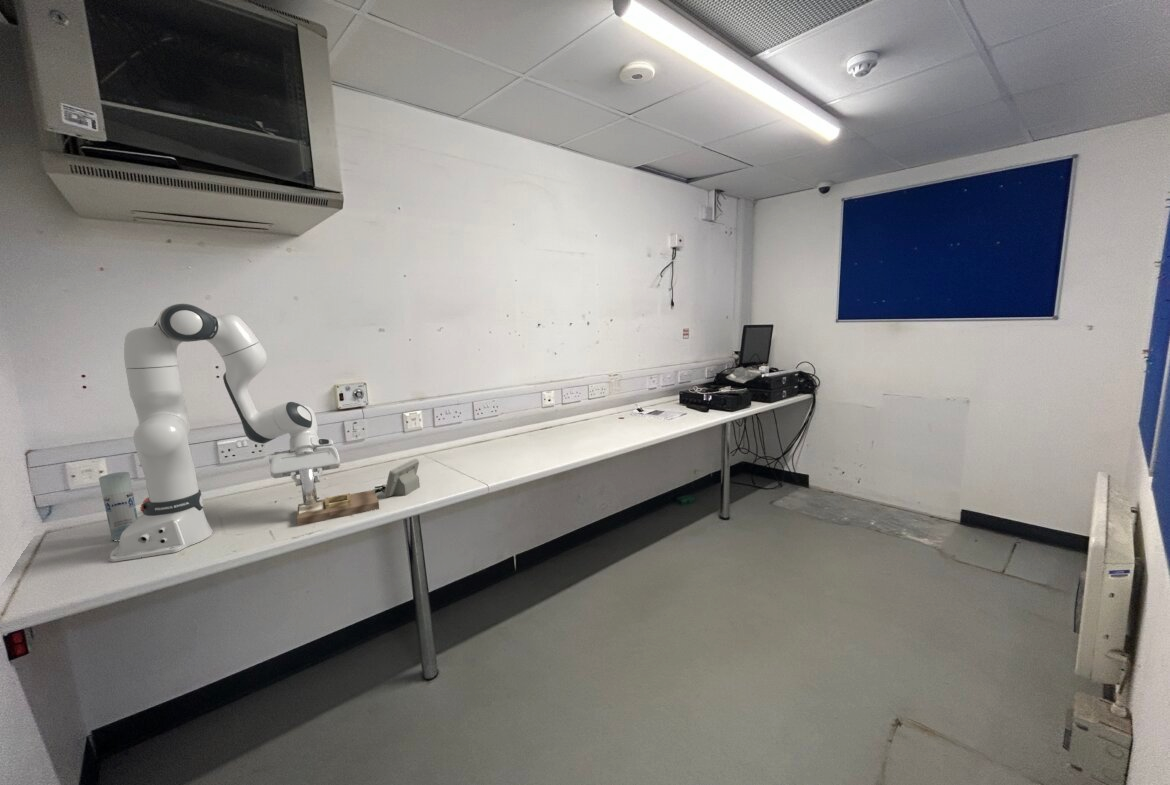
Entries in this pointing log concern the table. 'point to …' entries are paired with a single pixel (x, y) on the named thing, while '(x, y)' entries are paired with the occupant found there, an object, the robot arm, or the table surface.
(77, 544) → the table surface
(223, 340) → the robot arm
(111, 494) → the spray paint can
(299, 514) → the wooden peg board
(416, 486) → the digital clock
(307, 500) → the steel pin
